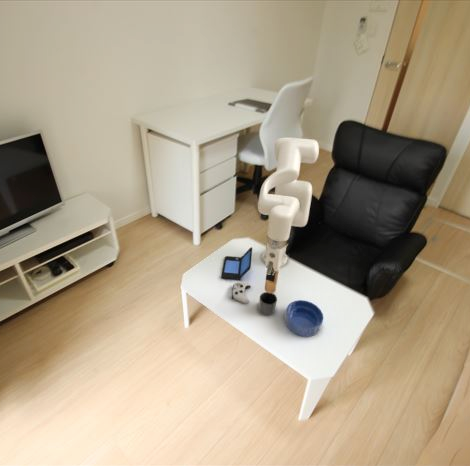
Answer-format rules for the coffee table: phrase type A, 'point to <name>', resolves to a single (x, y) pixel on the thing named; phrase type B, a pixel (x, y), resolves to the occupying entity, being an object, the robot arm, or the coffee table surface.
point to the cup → (267, 303)
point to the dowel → (271, 283)
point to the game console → (236, 266)
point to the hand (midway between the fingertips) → (272, 275)
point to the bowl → (303, 318)
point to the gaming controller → (240, 292)
